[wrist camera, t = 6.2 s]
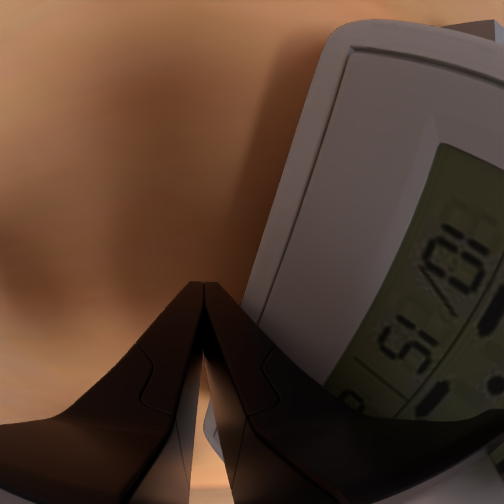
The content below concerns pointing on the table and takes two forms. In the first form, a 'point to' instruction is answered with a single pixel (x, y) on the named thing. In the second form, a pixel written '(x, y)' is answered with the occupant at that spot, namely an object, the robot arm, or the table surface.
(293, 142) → the digital clock
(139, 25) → the table surface
